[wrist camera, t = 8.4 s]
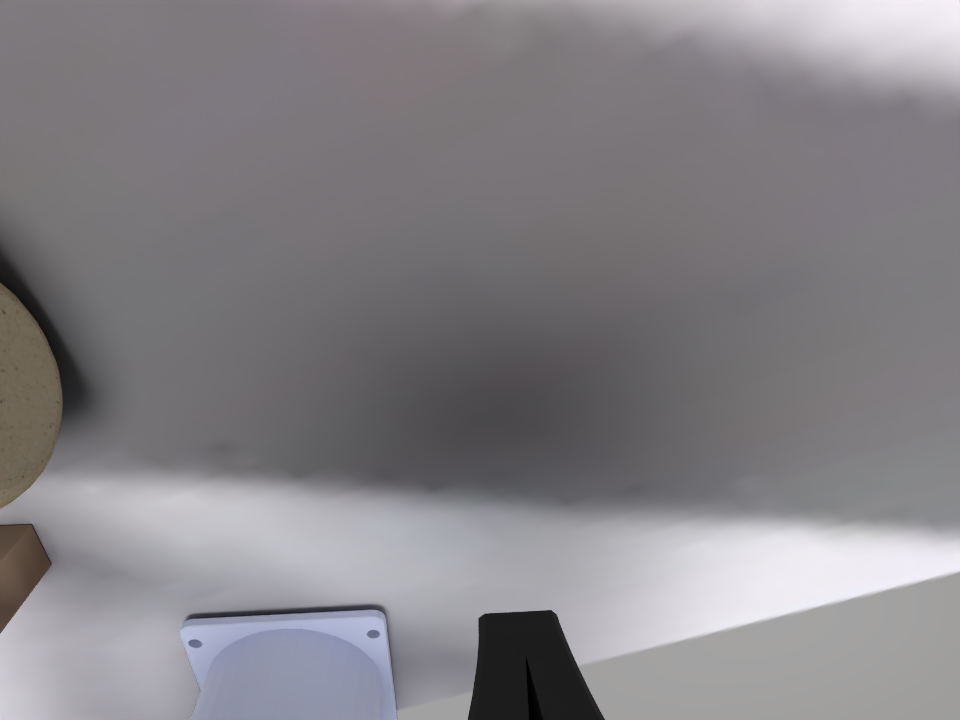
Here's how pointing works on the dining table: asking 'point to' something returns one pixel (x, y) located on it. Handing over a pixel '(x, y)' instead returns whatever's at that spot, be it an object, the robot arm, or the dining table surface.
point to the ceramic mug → (25, 398)
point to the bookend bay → (19, 568)
